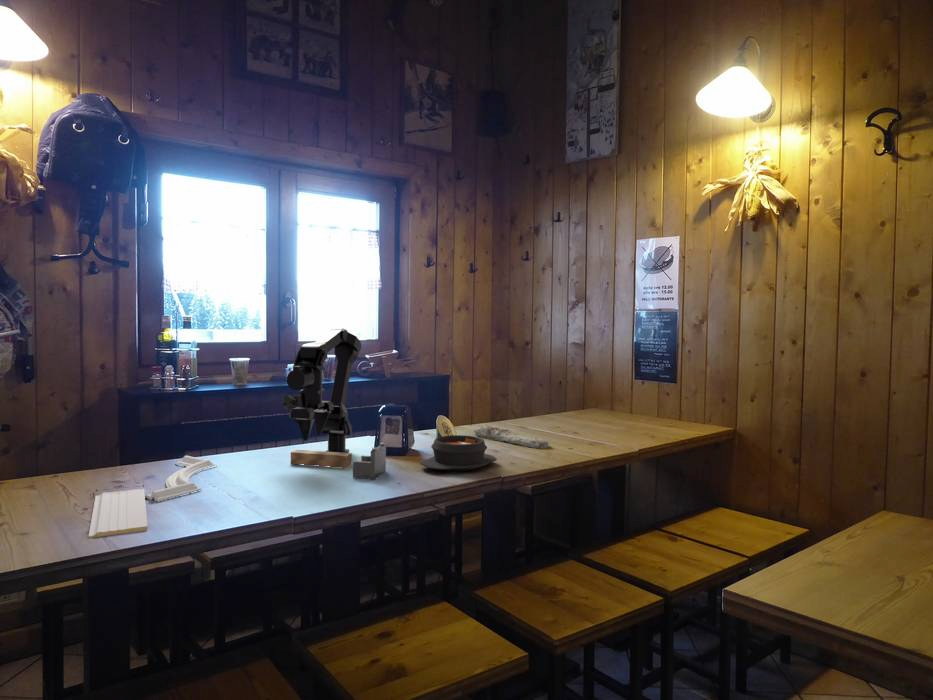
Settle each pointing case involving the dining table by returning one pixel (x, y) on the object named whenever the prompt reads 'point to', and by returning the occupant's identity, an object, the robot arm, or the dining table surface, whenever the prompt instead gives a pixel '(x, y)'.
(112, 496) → the baseboard molding
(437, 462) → the casserole
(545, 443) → the long grey stone
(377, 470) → the bracket
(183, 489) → the molding
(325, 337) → the robot arm
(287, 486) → the dining table surface
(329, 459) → the brown wooden bar
